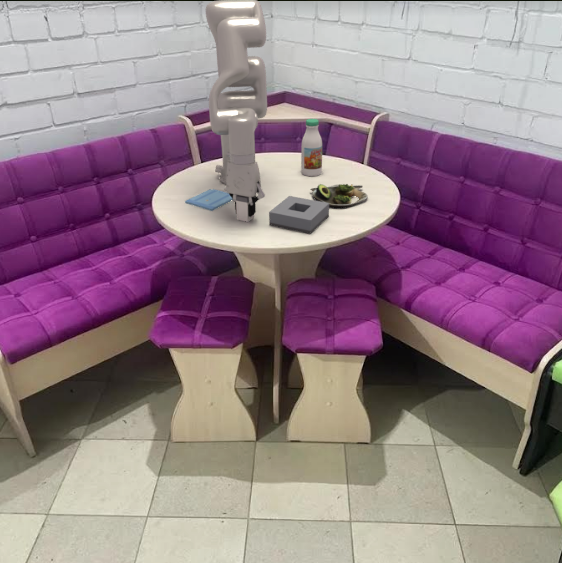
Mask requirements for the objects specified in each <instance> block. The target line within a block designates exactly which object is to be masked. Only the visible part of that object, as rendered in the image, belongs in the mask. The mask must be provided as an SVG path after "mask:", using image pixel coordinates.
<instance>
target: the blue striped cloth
mask: <svg viewBox="0 0 562 563" xmlns="http://www.w3.org/2000/svg"><path fill="white" fill-rule="evenodd" d="M231 200H232V201H233V199H232V197H231V196H230V195H229V194H228V193H227V192H226V191H223V190H218V189H214V188H213V189H211V188H210V189H207V190H205V191H203V192H201V193H198V194H197V195H195V196H193V197H190V198H189V199H186V200H184V202H185V203H184V204H188V205H191V206H193V205H194V207H197V208H199V209H203V210H207V211H210V212H213V211H215V210H218V209H219V208H220V206H221V207H223V206H225V205H226V203H227V204H228V202H229V203H231V202H232V201H231ZM230 201H231V202H230ZM224 204H225V205H224ZM222 205H223V206H222ZM218 207H219V208H218Z"/></svg>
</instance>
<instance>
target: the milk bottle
mask: <svg viewBox="0 0 562 563" xmlns="http://www.w3.org/2000/svg"><path fill="white" fill-rule="evenodd" d="M319 124H320V122H319V119H317V118H308V119H306V120H305V127H306V129H305V131H304V132H305V133H304V134H303V137H302V140H301V158H300V160H301V161H300V162H301V163H300V165H301V166H300V168H301V170H300V172H301V174H302V175H303V176H307V177H316V176H320V175H321V174H322V172H323V171H322V170H323V140H322V136H321V134H320V132H319V126H320V125H319Z"/></svg>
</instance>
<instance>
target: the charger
mask: <svg viewBox="0 0 562 563" xmlns="http://www.w3.org/2000/svg"><path fill="white" fill-rule="evenodd" d="M248 205H249V199H248V197H245V196H240V195H237V196H236V210H237V214H236V220H237V221H241V222H245V221H246V222H245V223H248V222H250V221H252V220H253V219H254V218H255V214H254V215H252V216H251V217H249V216H248ZM236 210H235V211H236ZM252 218H253V219H252Z"/></svg>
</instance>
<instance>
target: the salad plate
mask: <svg viewBox="0 0 562 563" xmlns="http://www.w3.org/2000/svg"><path fill="white" fill-rule="evenodd" d="M360 189H363V185H361V184H360V185H354V184H351V185H349V184H348V183H346V184H345V183H342V184H334V185H329V186H326V185H325V184H321V183H320V184H318V185H317V187H314V188H313V187H312V188H310V191H312V193H311V195H312V197H313V200H315V201H320V202H326V203H329V209H330V208H331V209H337V208H340V209H347V208H350V207H351V208H352V207H353V206H355V205H359V204H360V203H363V202H364V201H366V200H367V199H368V194H367V193H366V192H364V191H361V190H360ZM352 196H356V197H355V198H357V197H359V200H358V199H357V201H355V202H353V201H352V198H353V197H352ZM351 197H352V198H351ZM352 202H353V203H352Z"/></svg>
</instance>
